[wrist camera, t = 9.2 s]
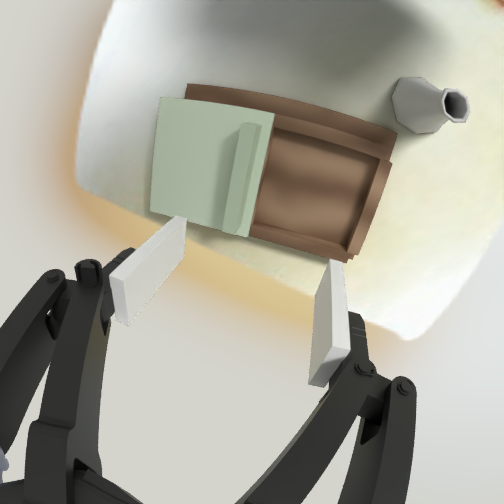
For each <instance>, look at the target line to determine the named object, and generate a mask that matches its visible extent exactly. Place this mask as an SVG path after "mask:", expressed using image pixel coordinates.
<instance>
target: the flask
mask: <svg viewBox="0 0 504 504" xmlns="http://www.w3.org/2000/svg"><path fill="white" fill-rule="evenodd" d="M391 98H392V102H393V107H394V111H395V116H396V121H397V122H399V123H401V124H402V125H404V126H405V127H407V128H408V129H410V130H411V131H413V132H414V133H416V134H418V133H433V132H437V131H438V130H439V129H440V128H441V126H442V125H443V124H444V123H445V122H446V121H447V120H451V121H452V122H453V123H457V122H466V120H467V117H468V115H469V113H470V108H469V102H468V97H466V96H465V95H464V94H463V93H462V92H460V91H459V90H458V89H444V90H443V91H442V90H439V89H438V88H436V87H435V86H434V85H432V84H431V83H429V82H428V81H426V80H425V79H423V78H422V77H409V78H400V79H399V82H398V84H397V86H396V88H395V90H394V93H393V95H392V97H391Z"/></svg>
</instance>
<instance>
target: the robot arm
mask: <svg viewBox="0 0 504 504" xmlns="http://www.w3.org/2000/svg"><path fill="white" fill-rule="evenodd" d="M186 226H187V218H183V217H180V216H174V217H173V218H172V219H171V220H170V221H169V222H167V223H166V224H165V225H164V226H163V227H162V228H160V229H159V230H158V231H157V232H156V233H155V234H153V235H152V236H151V237H150V238H149V239H148V240H147V241H146V242H145V243H143V244H142V245H141V246H140V247H139V248H138V249H134V248H128V249H126V250H123V251H122V252H121V253H120V254H118V255H117V256H116V257H115V258H114V259H113V260H112V261H111V262H109V263H108V264H107V265H106V266H105V267H104V268H103V269H102V266H101V264H100V262H98V261H97V260H94V259H86V260H82V261H80V262H78V263H77V264H76V266H75V267H74V268H75V272H76V278H77V281H75V280H69V279H66V278H65V274H64V272H63V271H61V270H59V269H52V270H49V271H47V272H45V273H44V274H43V275H42V276H41V277H40V279H39V280H38V281H37V282H36V283H35V284H34V285H33V287H32V288H31V289H30V290H29V292H28V293H27V294H26V295H25V297H24V298H23V299H22V300H21V302H20V303H19V304H18V305H17V306H16V308H15V309H14V310H13V312H12V313H11V314H10V316H9V317H8V318H7V320H6V321H5V323H4V324H3V325H2V327H1V328H0V504H143V503H142V502H140V501H139V500H137V499H136V498H135V497H134V496H132V495H131V494H130V493H128V492H127V491H125V490H123V489H121V488H120V487H119V486H117V485H116V484H114V483H112V482H110V481H109V480H107V479H105V478H103V477H102V466H101V460H100V457H99V453H98V430H99V413H100V399H101V389H102V380H103V372H104V364H105V357H106V351H107V344H108V338H109V332H110V327H111V319H110V317H111V316H112V315H113V314H114V312H115V317H116V321H118V322H120V323H123V324H125V325H127V326H130V325H131V323H132V322H133V321H134V320H135V318H136V317H137V316H138V314H139V313H140V312H141V310H142V309H143V308H144V307H145V305H146V304H147V303H148V301H149V300H150V299H151V298H152V296H153V295H154V294H155V293H156V291H157V290H158V289H159V287H160V286H161V285H162V284H163V282H164V281H165V280H166V279H167V277H168V276H169V275H170V274H171V272H172V271H173V270H174V269H175V268H176V266H177V265H178V264H179V263H180V262H181V260H182V259H183V258H184V248H185V237H186ZM49 310H50V312H49V314H47V313H48V311H49ZM50 362H51V363H50ZM49 364H50V367H49V371H48V375H47V379H46V384H45V389H44V393H43V398H42V403H41V409H40V415H39V418H38V420H36V421H33V422H32V423H31V424H30V427H29V432H28V439H27V448H26V460H25V476H24V479H22V480H17V481H12V482H7V483H3V480H2V472H3V471H6V470H7V469H8V468H9V463H8V461H7V459H6V458H5V454H6V453H7V451H8V450H9V448H10V447H11V445H12V443H13V441H14V439H15V437H16V435H17V432H18V430H19V427H20V425H21V422H22V420H23V418H24V416H25V413H26V411H27V409H28V406H29V404H30V402H31V400H32V398H33V396H34V393H35V391H36V389H37V387H38V385H39V383H40V381H41V379H42V377H43V375H44V373H45V371H46V369H47V367H48V366H49ZM328 382H329V390H328V391H327V392H326V393H325V395H324V396H323V397H322V398H321V400H320V401H319V404H318V405H317V407H316V408H315V410H314V411H313V412H312V414H311V415H310V416H309V418H308V419H307V421H306V422H305V423H304V425H303V426H302V427H301V429H300V430H299V431H298V433H297V434H296V435H295V437H294V438H293V439H292V441H291V442H290V443H289V444H288V445H287V447H286V448H285V449H284V450H283V452H282V453H281V454H280V455H279V457H278V458H277V459H276V460H275V461H274V462H273V464H272V465H271V466H270V467H269V468H268V469H267V470H266V472H265V473H264V474H263V475H262V476H261V477H260V478H259V479H258V480H257V482H256V483H255V484H254V485H253V486H252V487H251V488H250V489H249V490H248V491H247V492H246V493H245V494H244V495H243V496H242V497H241V498H240V499H239V500H238V501H237V502H236V503H235V504H301V503H302V502H303V500H304V499H305V498H306V496H307V495H308V494H309V492H310V491H311V490H312V488H313V487H314V485H315V484H316V482H317V481H318V480H319V478H320V477H321V475H322V474H323V472H324V471H325V469H326V468H327V466H328V465H329V463H330V461H331V460H332V458H333V457H334V455H335V453H336V452H337V450H338V449H339V447H340V445H341V444H342V442H343V440H344V438H345V437H346V435H347V433H348V431H349V430H350V428H351V426H352V424H353V422H354V420H355V419H356V416H357V415H358V416H360V417H361V420H360V425H359V429H358V433H357V438H356V442H355V446H354V450H353V454H352V458H351V462H350V465H349V469H348V472H347V476H346V479H345V483H344V485H343V489H342V492H341V495H340V498H339V501H338V504H405V501H406V495H407V490H408V484H409V479H410V472H411V465H412V458H413V447H414V438H415V424H416V397H417V392H416V387H415V385H414V383H413V382H412V381H411V380H410V379H408V378H406V377H403V376H399V377H396V378H395V379H393V381H391V380H389V379H387V378H385V377H383V376H381V375H379V374H377V372H376V367H375V366H374V364H373V363H372V362H371V361H370V360H369V356H368V347H367V338H366V332H365V324H364V321H363V319H362V317H361V315H360V314H357V313H353V312H349V311H348V307H347V297H346V287H345V278H344V270H343V262H340V261H337V260H334V259H330V260H329V262H328V265H327V268H326V270H325V273H324V275H323V277H322V280H321V282H320V285H319V287H318V290H317V292H316V294H315V305H314V322H313V336H312V349H311V360H310V371H309V381H308V384H309V385H313V386H318V387H323V388H324V387H325V386H326V385H327V383H328Z"/></svg>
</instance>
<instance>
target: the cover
mask: <svg viewBox="0 0 504 504" xmlns="http://www.w3.org/2000/svg"><path fill="white" fill-rule="evenodd" d="M274 116H275V114H274V113H270V112H265V111H260V110H255V109H250V108H244V107H239V106H233V105H227V104H220V103H213V102H206V101H197V100H188V99H178V98H166V97H161V98H160V104H159V111H158V119H157V127H156V136H155V145H154V156H153V167H152V181H151V200H150V211H151V212H155V213H159V214H162V215H166V216H170V217H174V216H180V217H183V218H187V221H188V222H192V223H196V224H199V225H203V226H207V227H210V228H214V229H218V230H221V231H222V232H225V233H229V234H232V235H235V234H236V235H239V236H243V237H248V235H249V230H250V226H251V221H252V216H253V212H254V207H255V202H256V198H257V193H258V189H259V184H260V180H261V175H262V170H263V166H264V161H265V157H266V152H267V148H268V143H269V139H270V134H271V130H272V125H273V121H274Z"/></svg>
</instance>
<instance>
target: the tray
mask: <svg viewBox="0 0 504 504" xmlns="http://www.w3.org/2000/svg"><path fill="white" fill-rule="evenodd" d="M185 99H188V100H197V101H206V102H213V103H220V104H227V105H233V106H239V107H244V108H250V109H255V110H260V111H265V112H270V113H274V114H275V116H274V121H273V125H272V130H271V134H270V139H269V143H268V148H267V152H266V157H265V161H264V166H263V170H262V175H261V180H260V184H259V189H258V193H257V198H256V202H255V207H254V212H253V216H252V221H251V226H250V230H249V236H252V237H256V238H259V239H263V240H267V241H270V242H274V243H277V244H281V245H284V246H288V247H291V248H295V249H298V250H302V251H305V252H309V253H312V254H316V255H319V256H323V257H326V258H330V259H334V260H337V261H340V262H343V263H347V261H348V258H349V259H352V260H353V257H354V255H358V254H359V252H360V250H361V247H362V245H363V242H364V240H365V238H366V235H367V233H368V230H369V228H370V225H371V222H372V220H373V217H374V215H375V212H376V209H377V207H378V204H379V201H380V199H381V196H382V193H383V190H384V187H385V184H386V181H387V179H388V176H389V173H390V170H391V166H392V163H391V162H390V161H389V160H390V157H391V154H392V150H393V147H394V144H395V140H396V137H397V133H395V132H393V131H390V130H388V129H385V128H383V127H380V126H377V125H375V124H372V123H369V122H366V121H364V120H361V119H358V118H355V117H352V116H349V115H346V114H343V113H339V112H336V111H333V110H329V109H326V108H322V107H319V106H315V105H311V104H307V103H304V102H300V101H295V100H291V99H287V98H282V97H278V96H273V95H268V94H263V93H257V92H252V91H246V90H239V89H233V88H226V87H218V86H209V85H200V84H188V83H187V88H186V94H185Z"/></svg>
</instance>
